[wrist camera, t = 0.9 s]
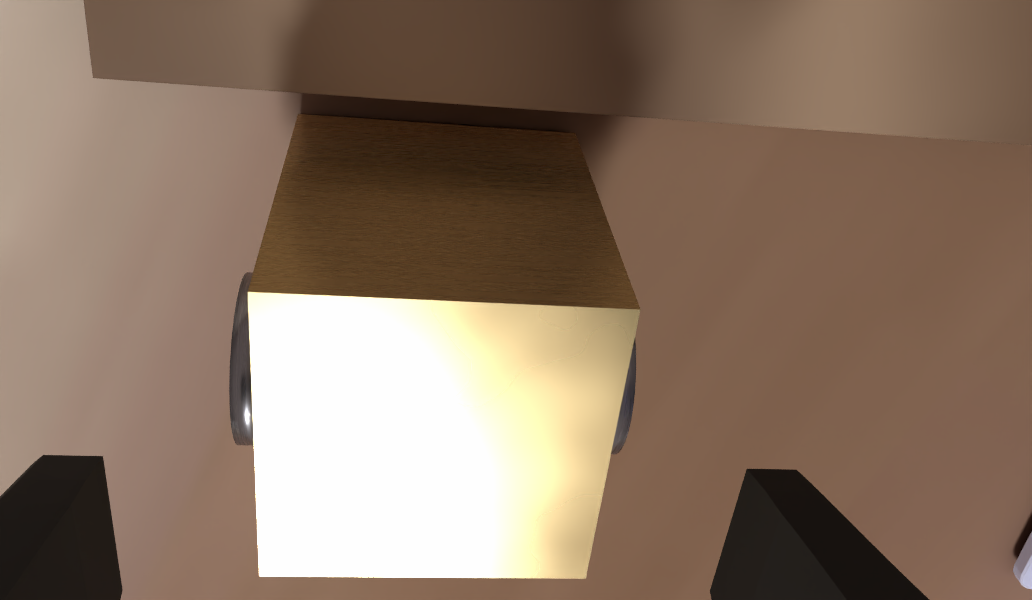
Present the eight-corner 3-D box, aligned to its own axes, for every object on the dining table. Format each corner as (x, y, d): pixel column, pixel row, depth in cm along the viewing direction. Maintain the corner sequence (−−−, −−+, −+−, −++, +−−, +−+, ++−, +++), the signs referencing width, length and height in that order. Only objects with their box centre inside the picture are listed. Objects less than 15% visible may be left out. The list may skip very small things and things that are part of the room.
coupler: (598, 134, 16) (673, 311, 11) (563, 356, 18) (613, 578, 14) (272, 112, 15) (210, 290, 11) (278, 346, 18) (229, 575, 13)
